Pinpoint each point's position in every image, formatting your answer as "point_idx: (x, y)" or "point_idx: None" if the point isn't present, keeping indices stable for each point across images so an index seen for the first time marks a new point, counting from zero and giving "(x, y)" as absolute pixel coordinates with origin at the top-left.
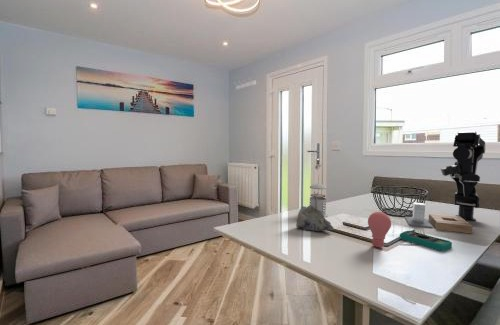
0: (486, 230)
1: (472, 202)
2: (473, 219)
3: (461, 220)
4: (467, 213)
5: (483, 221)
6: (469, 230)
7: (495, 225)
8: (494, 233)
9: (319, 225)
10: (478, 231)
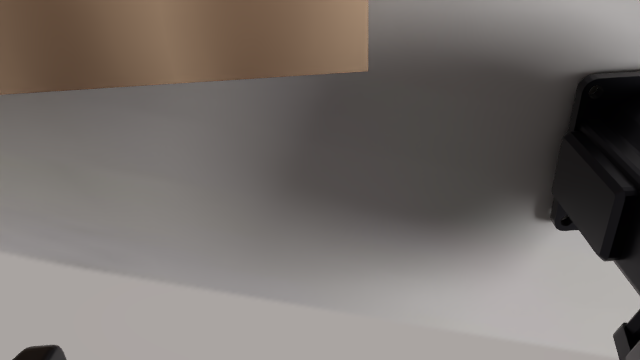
0: (149, 225)
1: (632, 354)
2: (560, 209)
3: (74, 34)
4: (590, 192)
5: (556, 275)
6: None
7: (423, 325)
8: (67, 260)
9: None
10: (37, 150)
